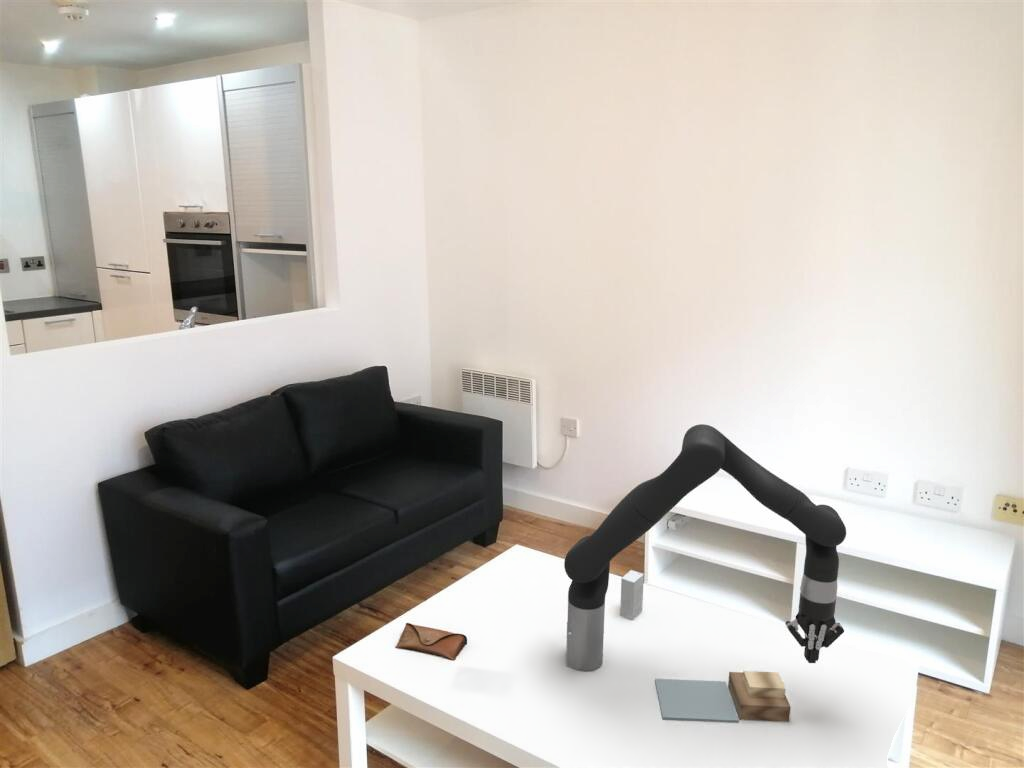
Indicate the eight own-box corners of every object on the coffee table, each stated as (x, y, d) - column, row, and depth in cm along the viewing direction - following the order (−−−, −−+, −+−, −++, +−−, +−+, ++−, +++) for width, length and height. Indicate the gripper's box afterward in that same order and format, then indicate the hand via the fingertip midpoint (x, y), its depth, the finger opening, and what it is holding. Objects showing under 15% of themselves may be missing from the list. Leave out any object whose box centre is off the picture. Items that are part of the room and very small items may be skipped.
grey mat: (662, 719, 170) (662, 717, 170) (654, 680, 184) (655, 678, 184) (738, 722, 169) (738, 720, 169) (725, 683, 183) (725, 681, 183)
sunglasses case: (392, 648, 196) (397, 621, 198) (402, 647, 203) (407, 622, 204) (455, 661, 191) (460, 634, 193) (464, 660, 197) (469, 633, 199)
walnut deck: (739, 719, 170) (741, 704, 169) (728, 686, 182) (729, 671, 181) (788, 722, 170) (790, 706, 169) (774, 688, 181) (775, 673, 180)
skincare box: (629, 606, 217) (630, 569, 214) (642, 611, 214) (644, 573, 211) (619, 616, 212) (620, 577, 209) (632, 621, 210) (634, 582, 207)
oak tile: (749, 696, 172) (749, 687, 172) (742, 680, 178) (743, 670, 177) (784, 698, 172) (785, 688, 171) (777, 681, 177) (778, 672, 177)
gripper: (793, 601, 165) (786, 670, 169) (854, 602, 164) (846, 672, 168) (783, 583, 172) (776, 650, 176) (842, 585, 171) (834, 652, 175)
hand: (810, 661), depth 172 cm, fingers closed
